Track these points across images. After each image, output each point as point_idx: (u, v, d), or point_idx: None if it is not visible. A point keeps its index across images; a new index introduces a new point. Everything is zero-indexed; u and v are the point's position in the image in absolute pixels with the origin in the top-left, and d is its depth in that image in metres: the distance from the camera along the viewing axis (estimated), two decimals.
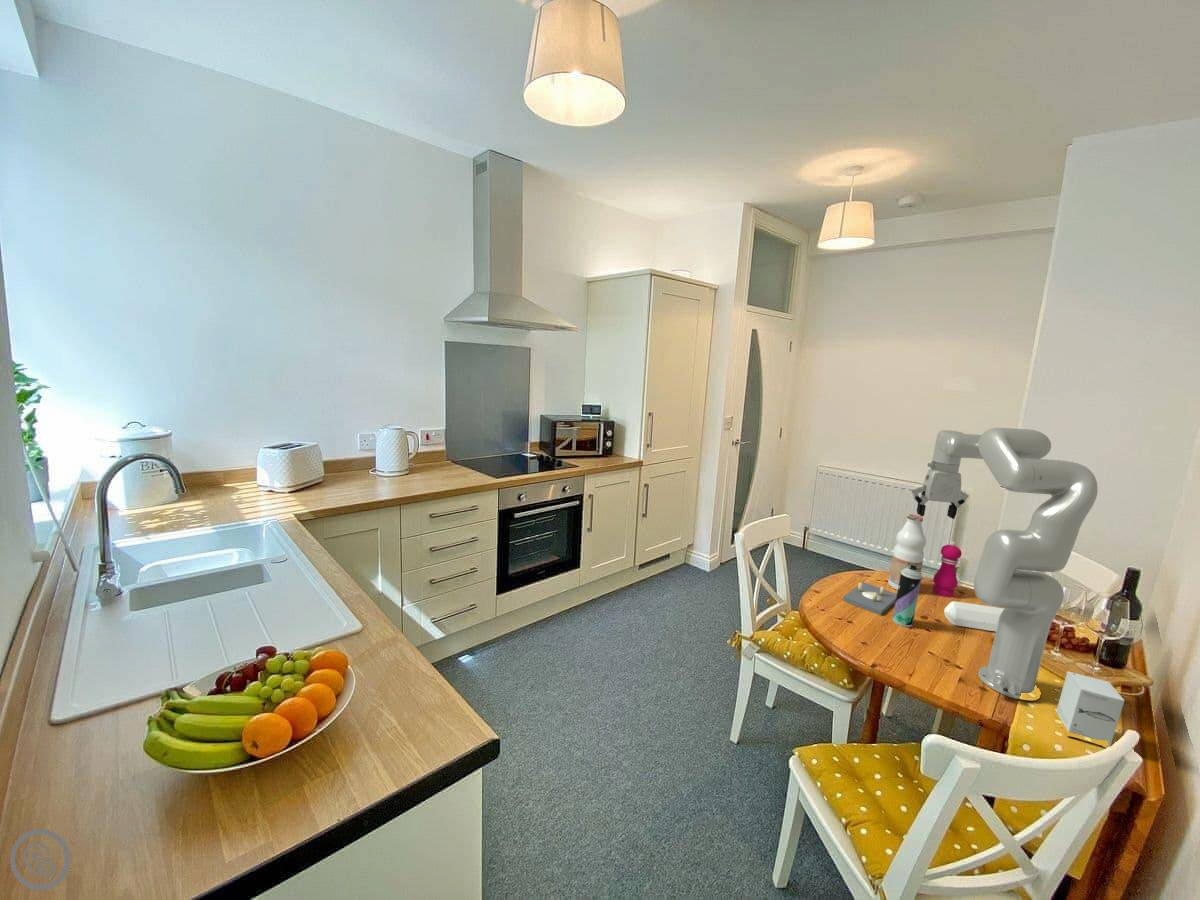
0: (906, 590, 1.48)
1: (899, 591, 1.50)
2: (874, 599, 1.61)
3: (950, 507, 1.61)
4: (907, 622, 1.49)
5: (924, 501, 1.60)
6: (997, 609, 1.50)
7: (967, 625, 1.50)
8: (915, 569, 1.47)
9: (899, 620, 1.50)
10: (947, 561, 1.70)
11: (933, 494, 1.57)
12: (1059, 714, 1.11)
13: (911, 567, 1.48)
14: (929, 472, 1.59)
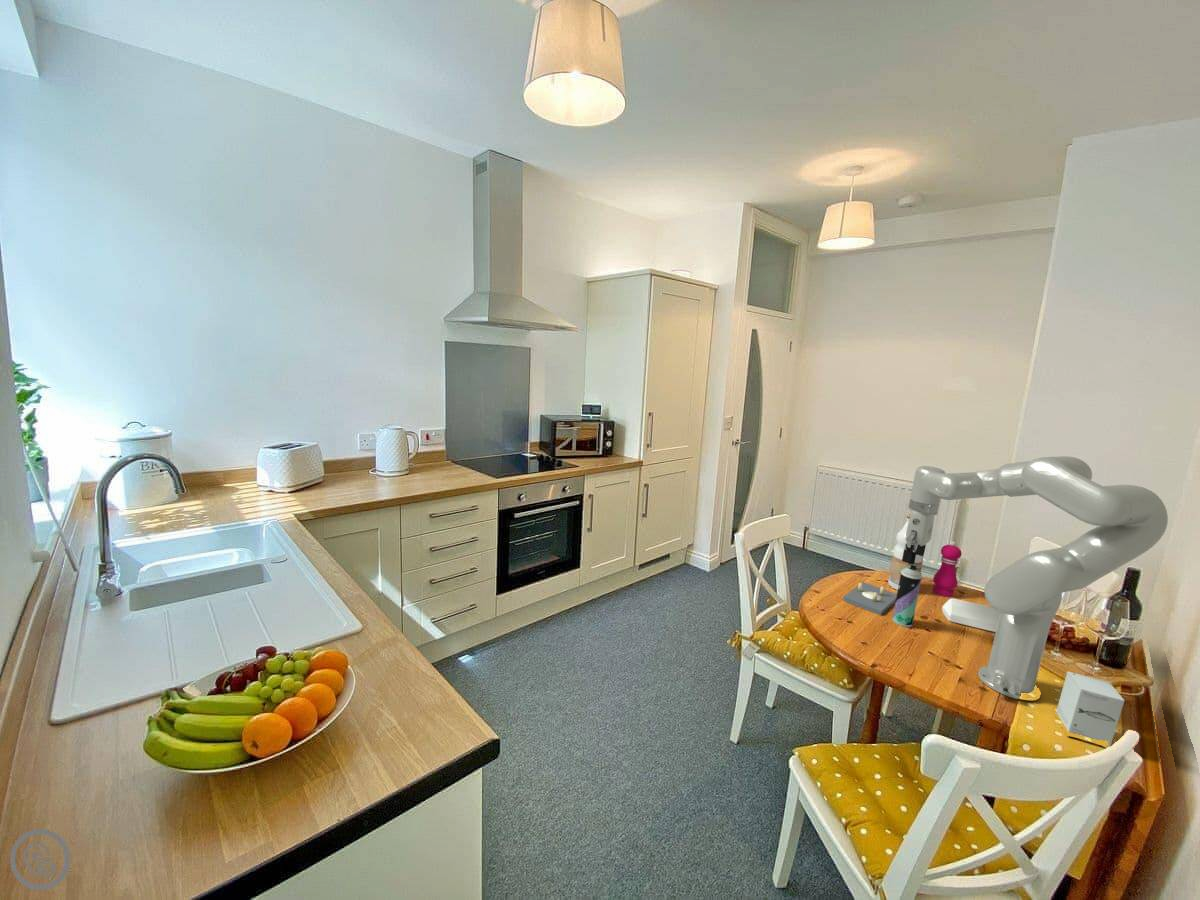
0: (906, 590, 1.48)
1: (899, 591, 1.50)
2: (874, 599, 1.61)
3: None
4: (907, 622, 1.49)
5: (916, 548, 1.43)
6: None
7: (962, 622, 1.52)
8: (915, 569, 1.47)
9: (899, 620, 1.50)
10: (947, 561, 1.70)
11: (924, 539, 1.42)
12: (1059, 714, 1.11)
13: (911, 567, 1.48)
14: (918, 516, 1.42)
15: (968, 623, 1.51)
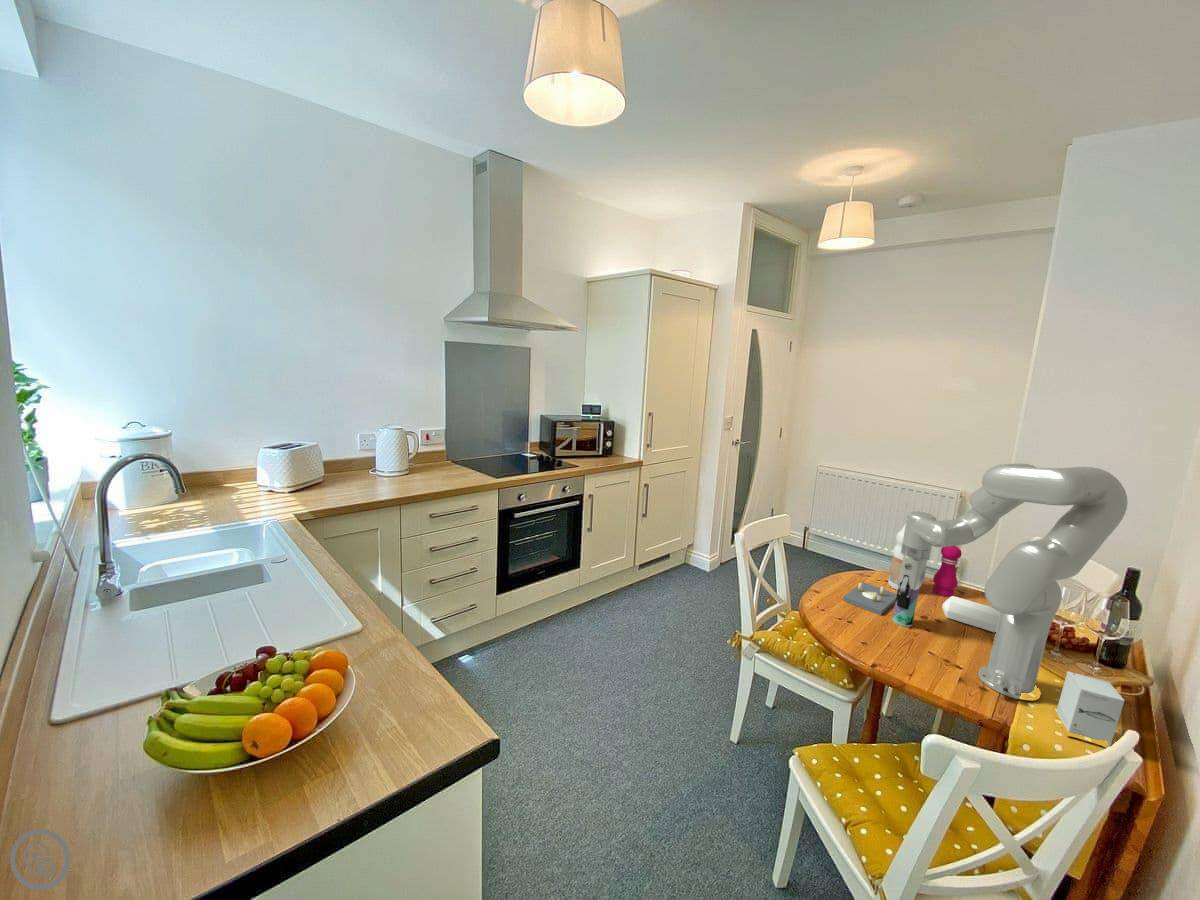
0: (906, 590, 1.48)
1: None
2: (874, 599, 1.61)
3: None
4: (907, 622, 1.49)
5: (909, 593, 1.46)
6: None
7: (959, 619, 1.53)
8: None
9: (899, 620, 1.50)
10: (947, 561, 1.70)
11: (917, 584, 1.45)
12: (1059, 714, 1.11)
13: None
14: (910, 561, 1.44)
15: (965, 621, 1.52)
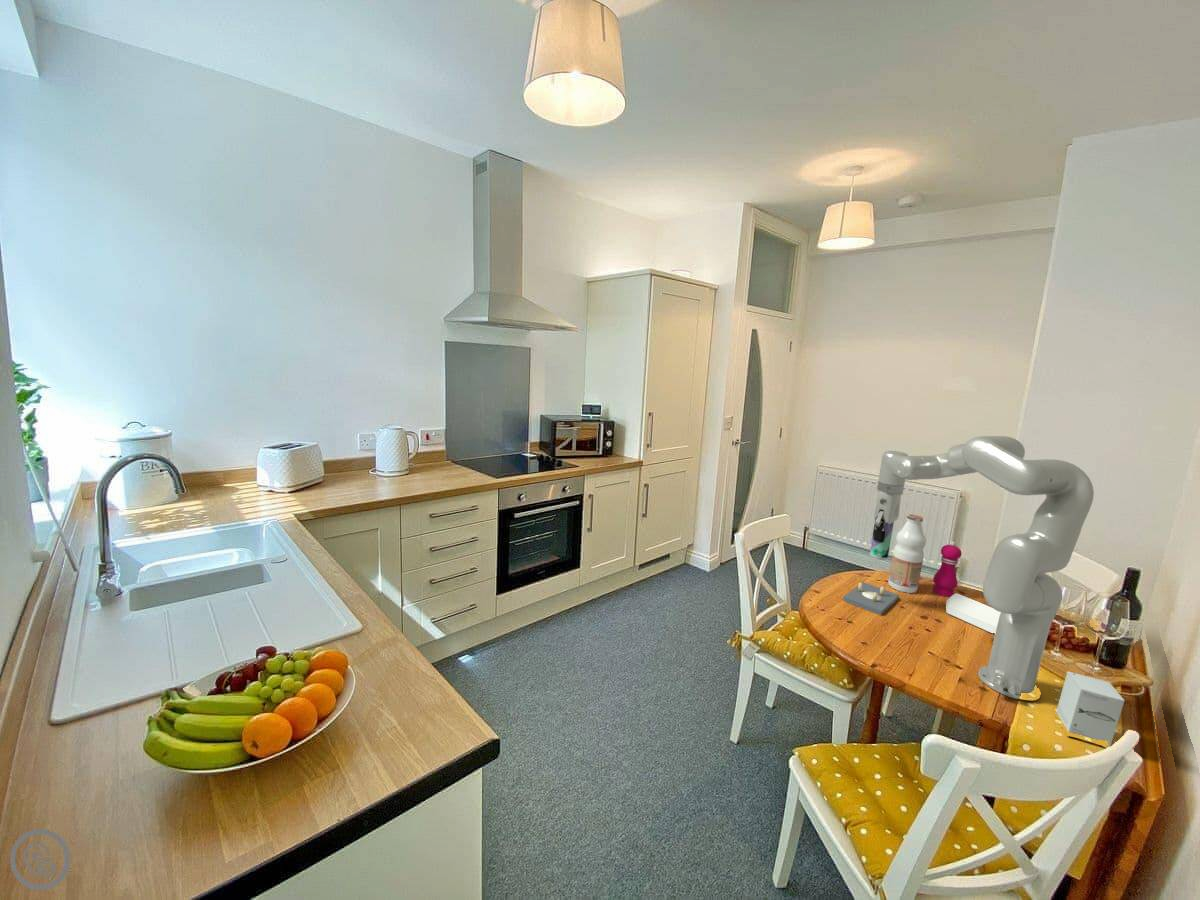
0: None
1: None
2: (874, 599, 1.61)
3: None
4: (882, 555, 1.60)
5: (884, 527, 1.57)
6: (996, 611, 1.49)
7: (957, 615, 1.56)
8: None
9: (875, 554, 1.61)
10: (947, 561, 1.70)
11: (891, 517, 1.55)
12: (1059, 714, 1.11)
13: None
14: (885, 496, 1.55)
15: (962, 617, 1.54)
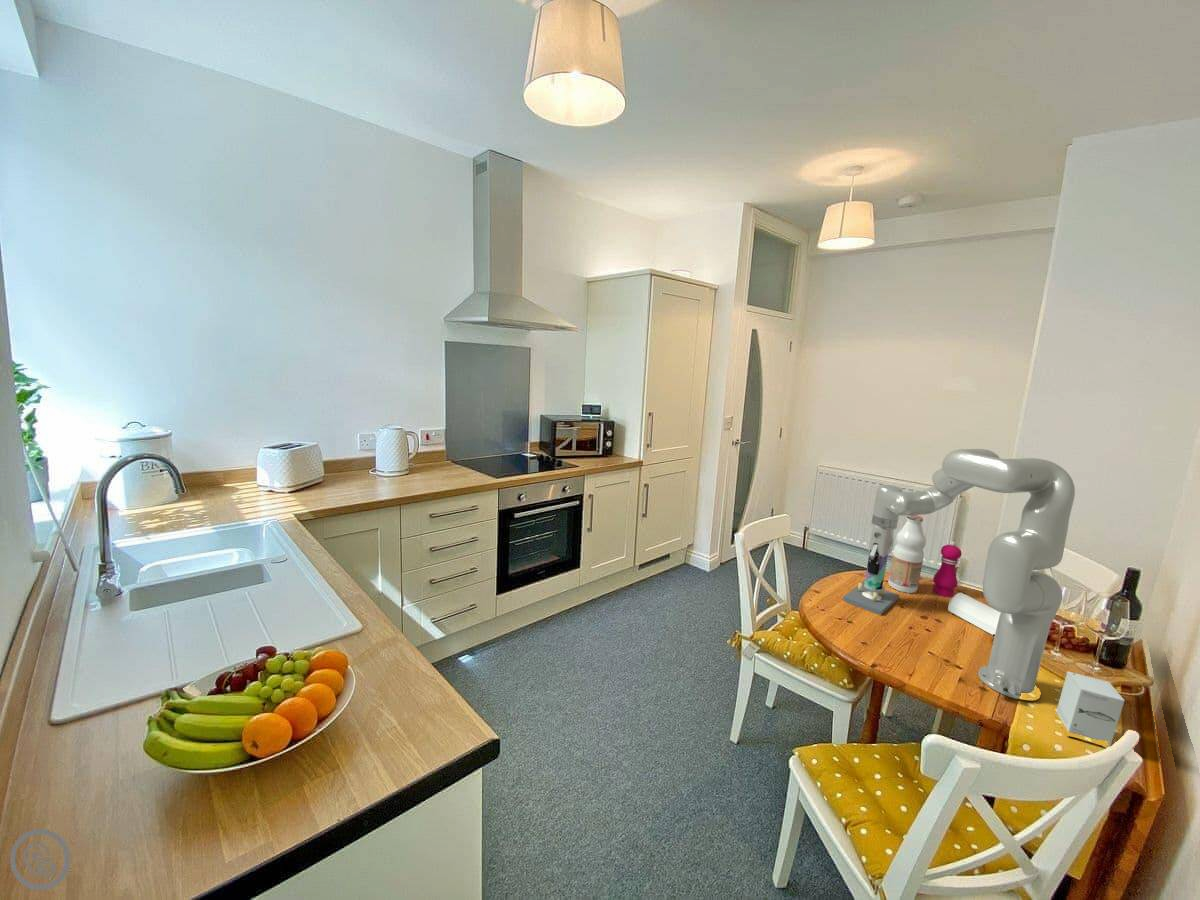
0: (876, 557, 1.61)
1: (869, 558, 1.63)
2: (874, 599, 1.61)
3: None
4: (877, 587, 1.62)
5: (879, 560, 1.59)
6: (995, 611, 1.48)
7: (957, 614, 1.57)
8: None
9: (869, 585, 1.63)
10: (947, 561, 1.70)
11: (885, 551, 1.58)
12: (1059, 714, 1.11)
13: None
14: (879, 530, 1.58)
15: (961, 615, 1.56)
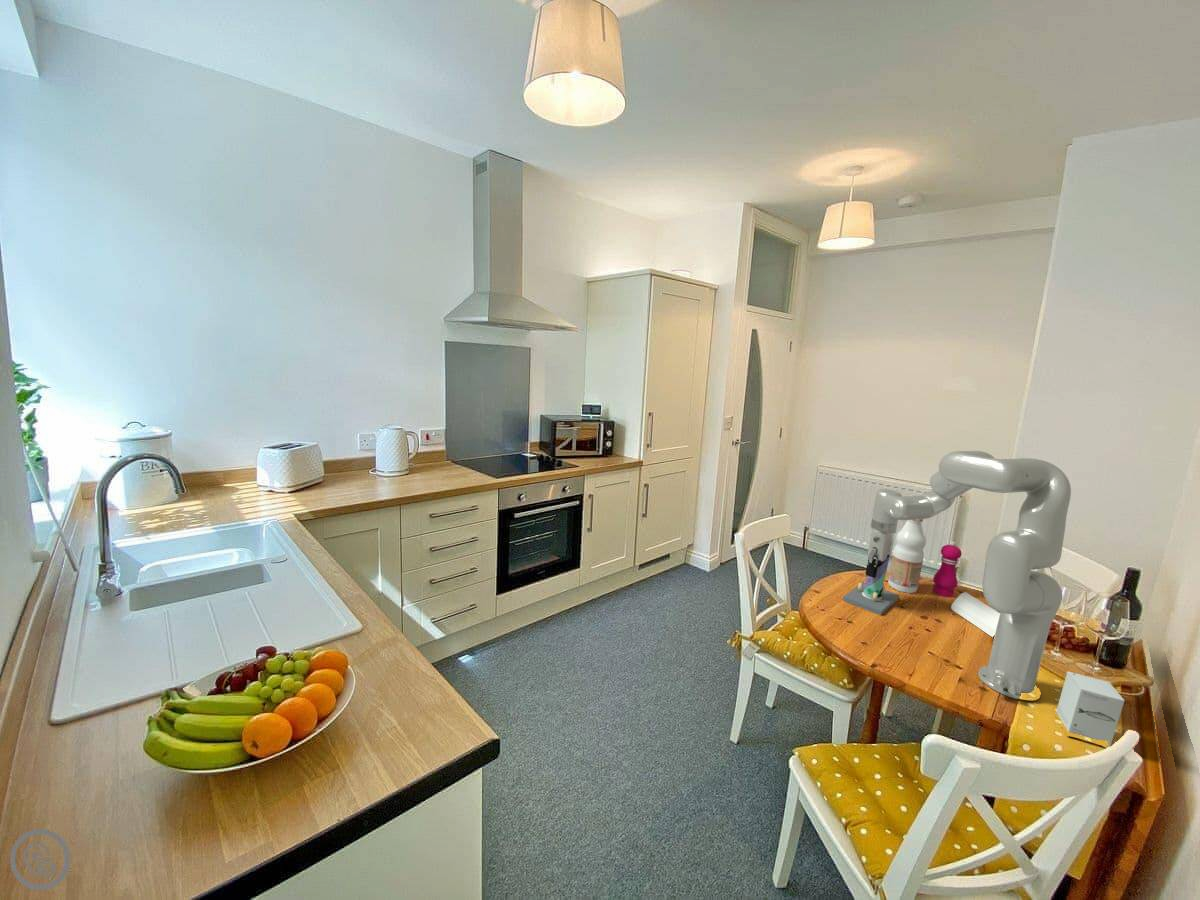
0: None
1: None
2: (874, 599, 1.61)
3: None
4: None
5: (877, 563, 1.59)
6: (993, 611, 1.48)
7: (958, 612, 1.58)
8: None
9: (869, 593, 1.64)
10: (947, 561, 1.70)
11: (884, 555, 1.58)
12: (1059, 714, 1.11)
13: None
14: (878, 534, 1.58)
15: (962, 614, 1.56)
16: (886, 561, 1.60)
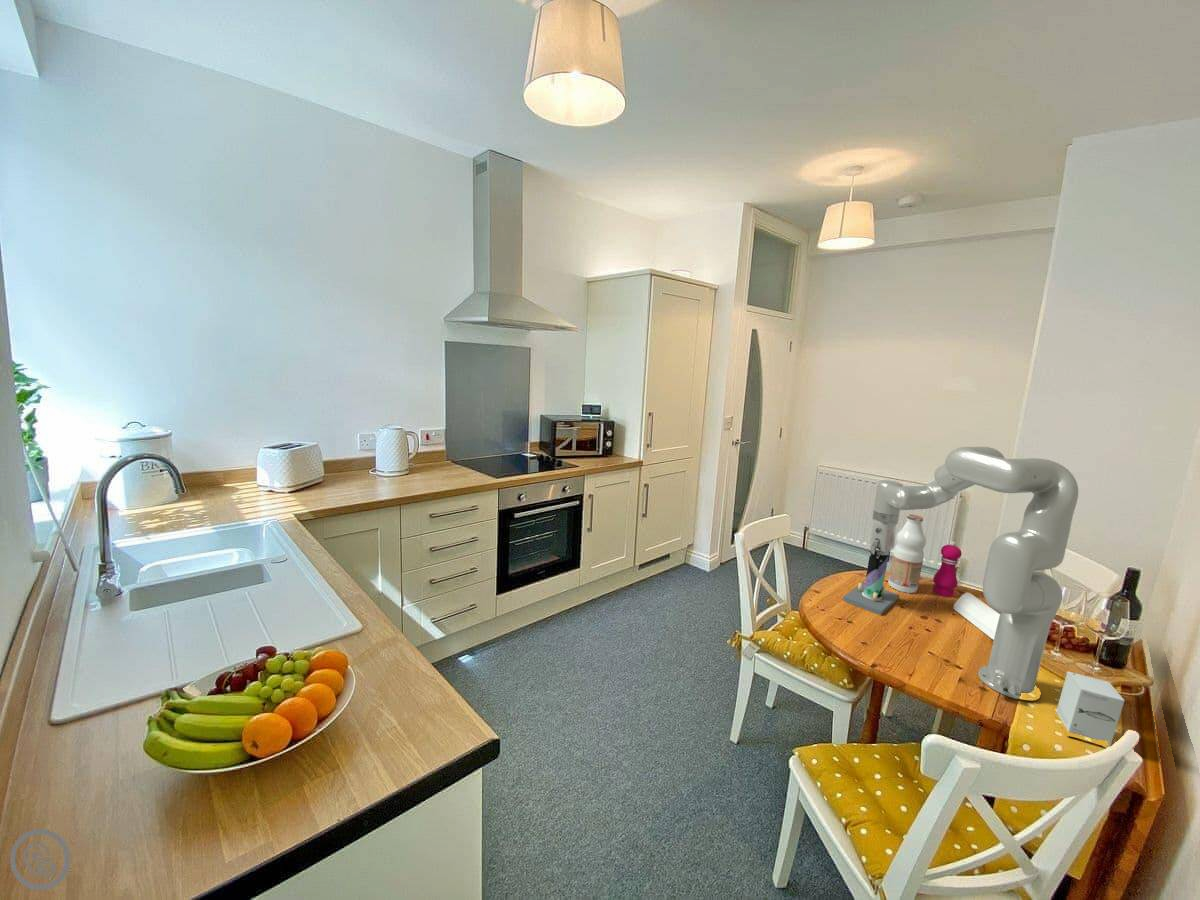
0: None
1: None
2: (874, 599, 1.61)
3: None
4: None
5: (879, 554, 1.58)
6: (992, 611, 1.48)
7: (960, 612, 1.58)
8: None
9: (868, 593, 1.64)
10: (947, 561, 1.70)
11: (887, 546, 1.57)
12: (1059, 714, 1.11)
13: None
14: (880, 525, 1.57)
15: (963, 614, 1.57)
16: (885, 561, 1.60)
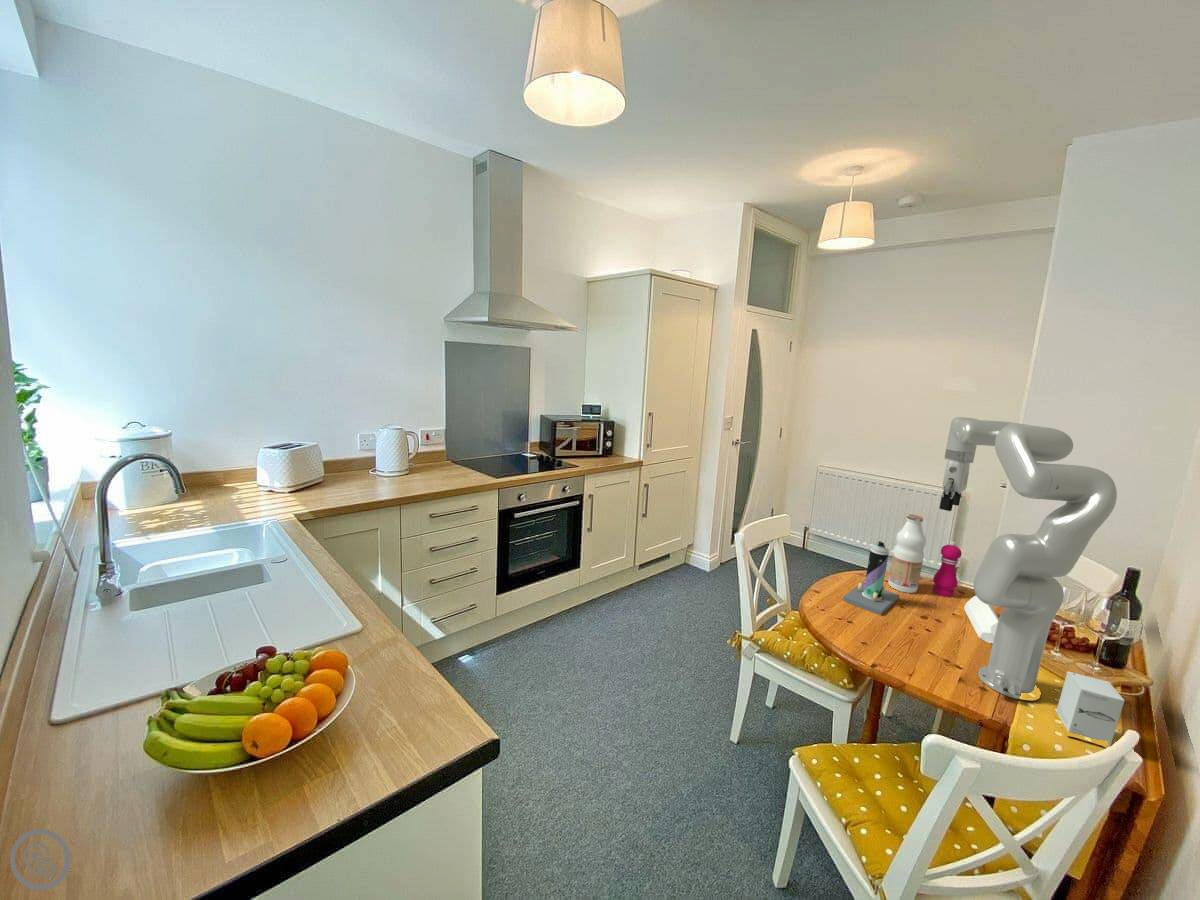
0: (875, 566, 1.61)
1: (869, 566, 1.63)
2: (874, 599, 1.61)
3: None
4: None
5: (953, 495, 1.49)
6: (988, 610, 1.49)
7: (966, 611, 1.59)
8: (883, 546, 1.61)
9: (868, 593, 1.64)
10: (947, 561, 1.70)
11: (961, 486, 1.49)
12: (1059, 714, 1.11)
13: (879, 544, 1.61)
14: (955, 464, 1.48)
15: (967, 612, 1.58)
16: (885, 561, 1.60)
